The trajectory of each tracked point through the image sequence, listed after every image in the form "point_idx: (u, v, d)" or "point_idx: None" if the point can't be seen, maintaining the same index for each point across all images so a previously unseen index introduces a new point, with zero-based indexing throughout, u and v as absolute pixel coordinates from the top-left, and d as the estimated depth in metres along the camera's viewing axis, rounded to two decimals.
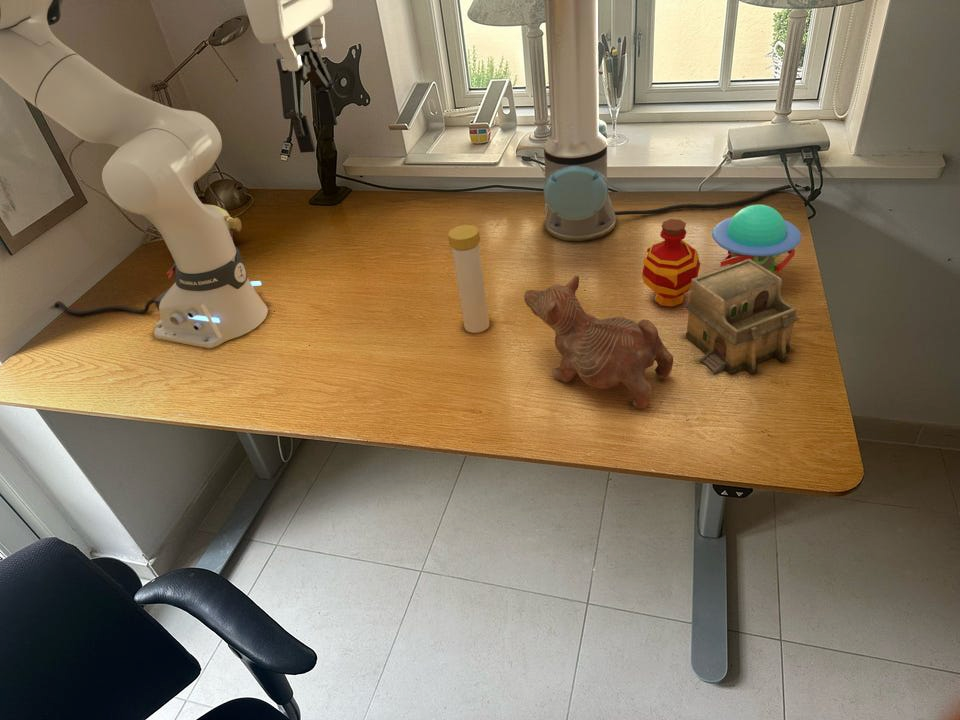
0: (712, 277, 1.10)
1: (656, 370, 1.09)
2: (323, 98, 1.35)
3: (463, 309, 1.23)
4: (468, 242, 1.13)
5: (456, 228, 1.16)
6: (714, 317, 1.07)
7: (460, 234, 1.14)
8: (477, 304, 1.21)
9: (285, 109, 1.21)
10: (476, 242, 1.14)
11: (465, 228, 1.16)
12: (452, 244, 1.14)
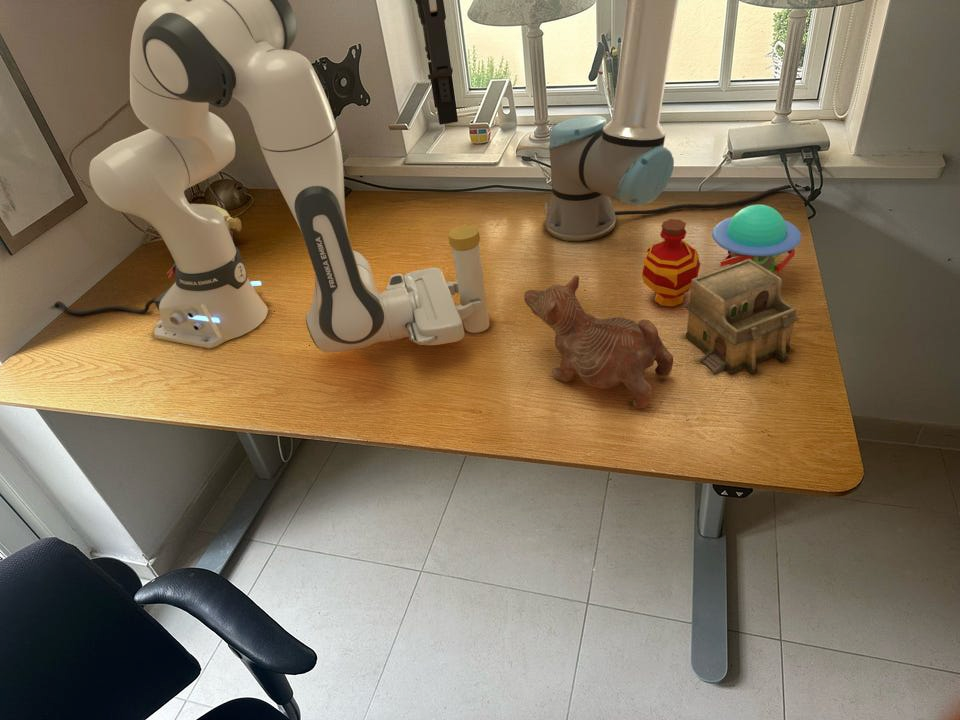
0: (712, 277, 1.10)
1: (656, 370, 1.09)
2: None
3: None
4: (468, 242, 1.13)
5: (456, 228, 1.16)
6: (714, 317, 1.07)
7: (460, 234, 1.14)
8: None
9: None
10: (476, 242, 1.14)
11: (465, 228, 1.16)
12: (452, 244, 1.14)
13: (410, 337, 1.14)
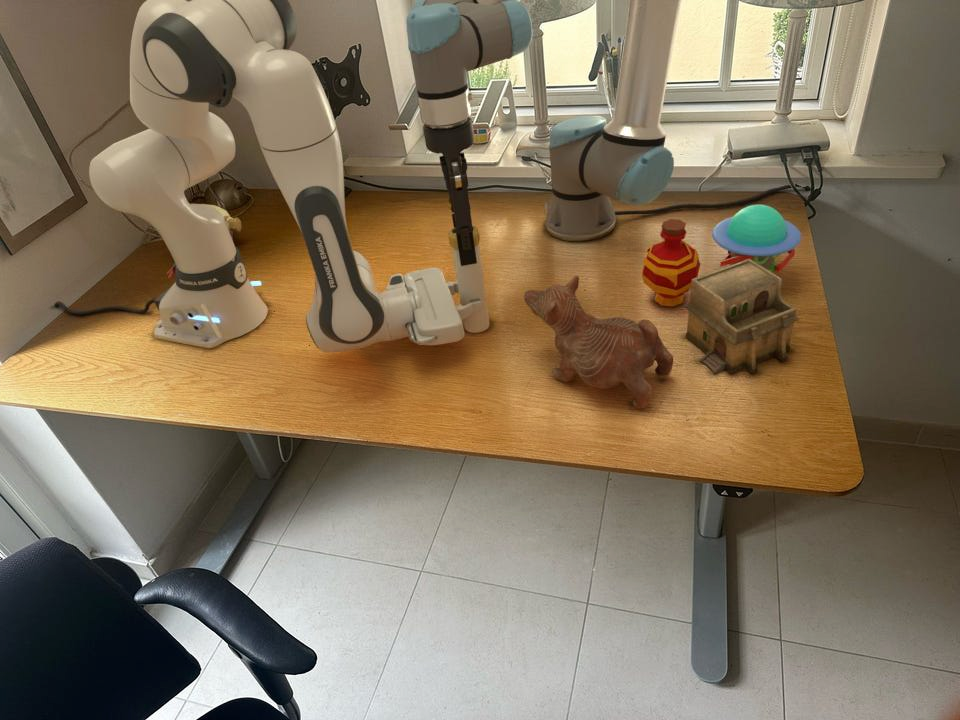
0: (712, 277, 1.10)
1: (656, 370, 1.09)
2: None
3: None
4: None
5: None
6: (714, 317, 1.07)
7: None
8: None
9: None
10: (476, 242, 1.14)
11: None
12: (452, 244, 1.14)
13: (410, 337, 1.14)
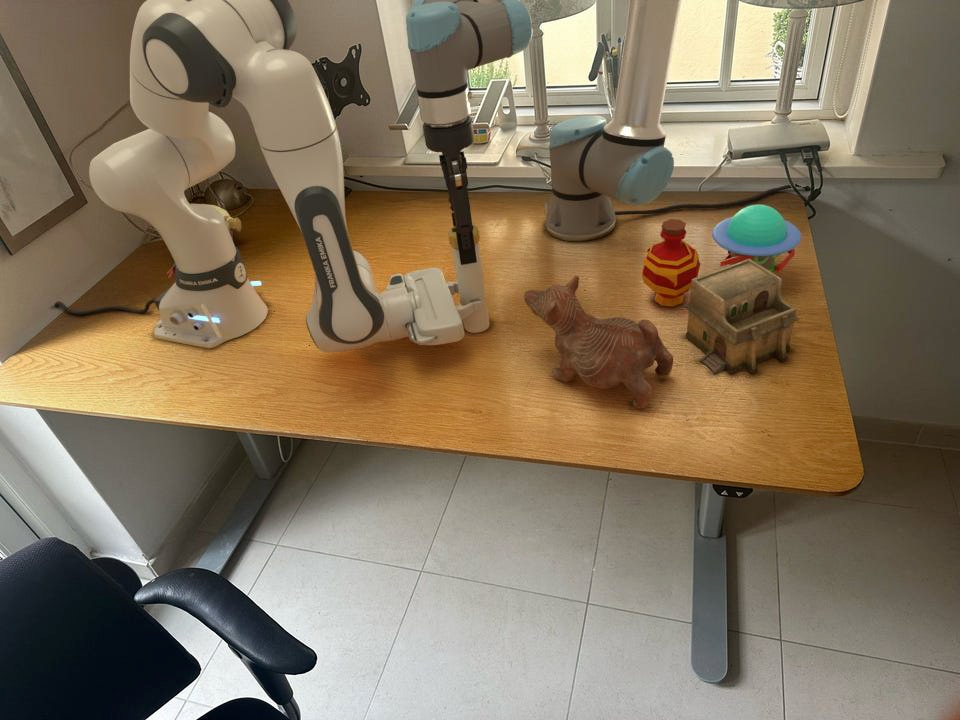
0: (712, 277, 1.10)
1: (656, 370, 1.09)
2: None
3: None
4: None
5: None
6: (714, 317, 1.07)
7: None
8: None
9: None
10: None
11: (455, 232, 1.14)
12: (477, 239, 1.14)
13: (410, 337, 1.14)
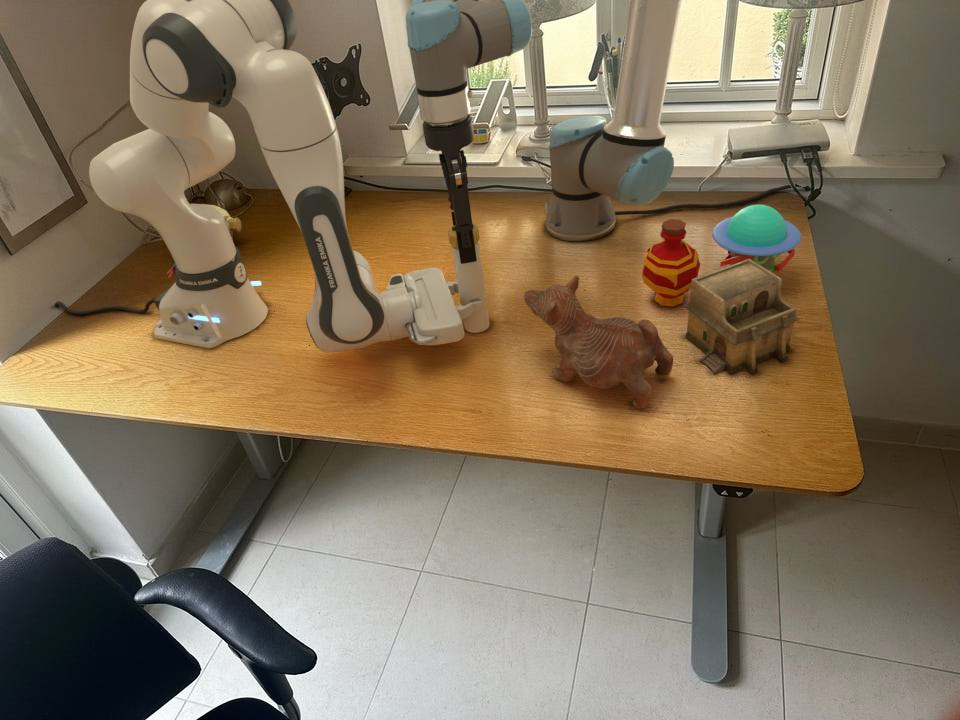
0: (712, 277, 1.10)
1: (656, 370, 1.09)
2: None
3: None
4: None
5: (474, 228, 1.14)
6: (714, 317, 1.07)
7: None
8: None
9: None
10: (450, 241, 1.15)
11: None
12: None
13: (410, 337, 1.14)
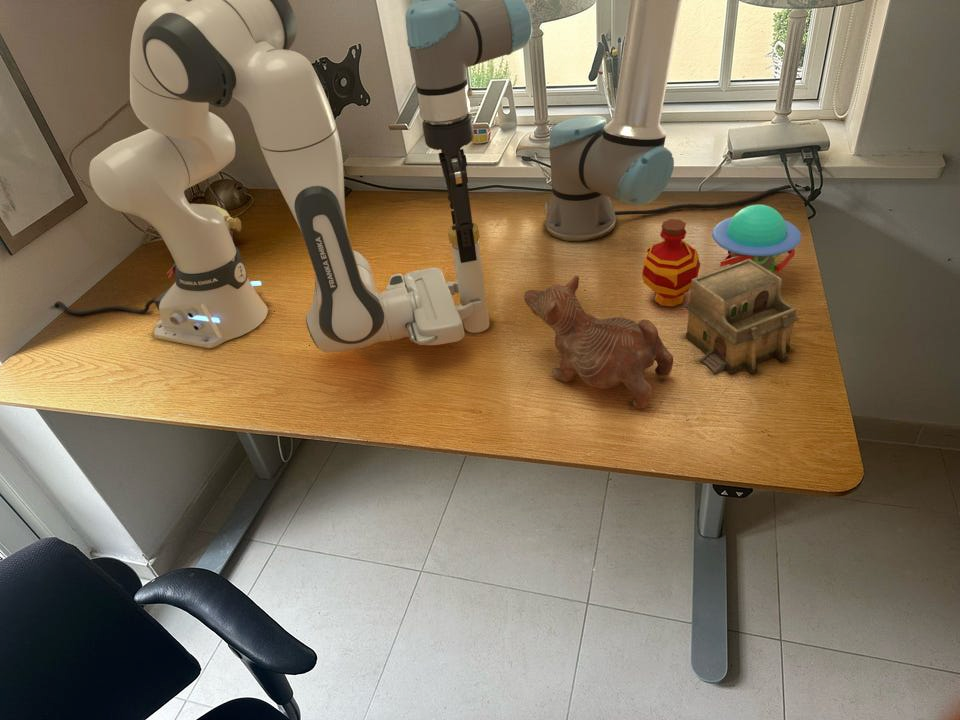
0: (712, 277, 1.10)
1: (656, 370, 1.09)
2: None
3: None
4: None
5: None
6: (714, 317, 1.07)
7: None
8: None
9: None
10: (474, 240, 1.14)
11: None
12: (450, 240, 1.14)
13: (410, 337, 1.14)
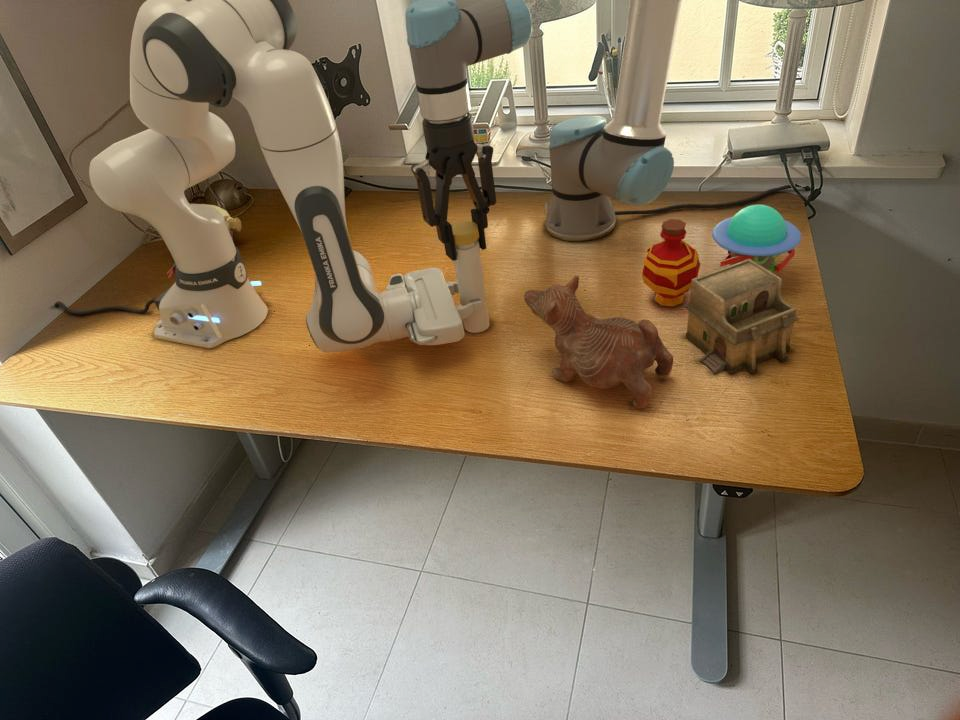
0: (712, 277, 1.10)
1: (656, 370, 1.09)
2: (475, 218, 1.14)
3: None
4: None
5: (454, 232, 1.13)
6: (714, 317, 1.07)
7: (467, 228, 1.14)
8: None
9: (423, 215, 1.10)
10: None
11: (455, 228, 1.14)
12: (474, 238, 1.14)
13: (410, 337, 1.14)
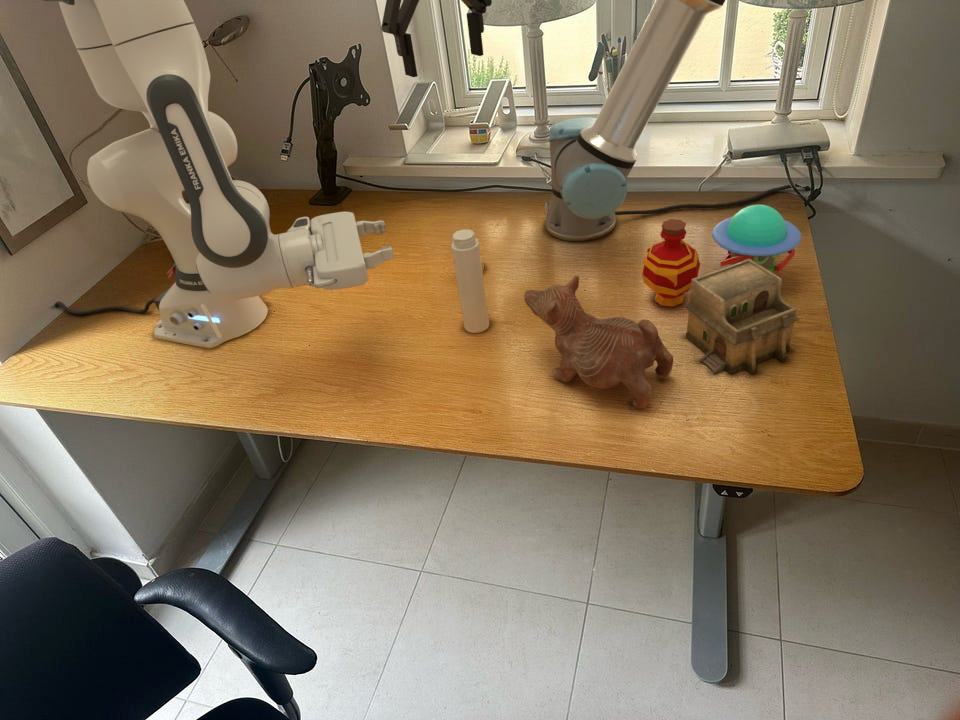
0: (712, 277, 1.10)
1: (656, 370, 1.09)
2: (472, 21, 1.16)
3: (463, 309, 1.23)
4: None
5: None
6: (714, 317, 1.07)
7: None
8: (477, 304, 1.21)
9: (384, 21, 1.08)
10: None
11: None
12: None
13: (307, 280, 1.04)
